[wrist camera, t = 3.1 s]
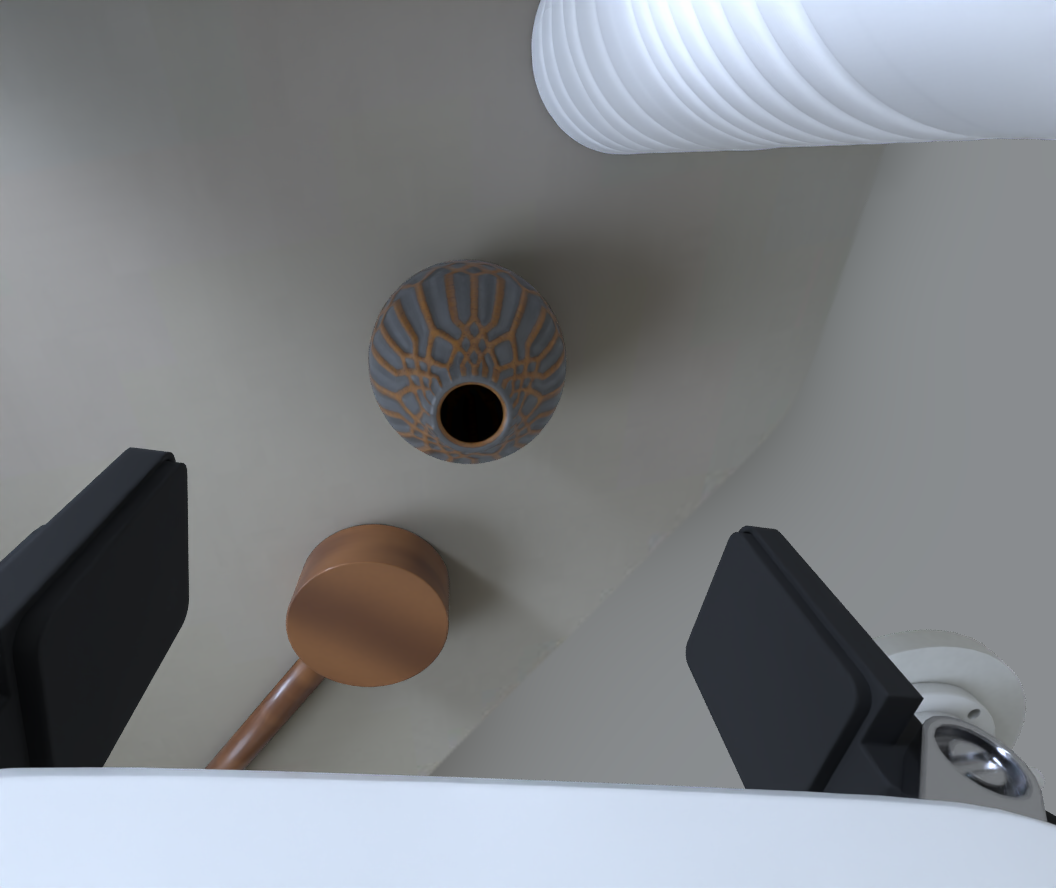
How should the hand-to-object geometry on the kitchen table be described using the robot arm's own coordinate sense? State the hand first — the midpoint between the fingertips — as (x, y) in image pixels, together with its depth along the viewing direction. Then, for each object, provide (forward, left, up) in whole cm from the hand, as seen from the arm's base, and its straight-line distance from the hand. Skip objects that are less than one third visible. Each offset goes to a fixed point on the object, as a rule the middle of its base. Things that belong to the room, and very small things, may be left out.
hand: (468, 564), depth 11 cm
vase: (0, 0, -16) cm, 16 cm away
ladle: (+6, +20, -16) cm, 26 cm away
